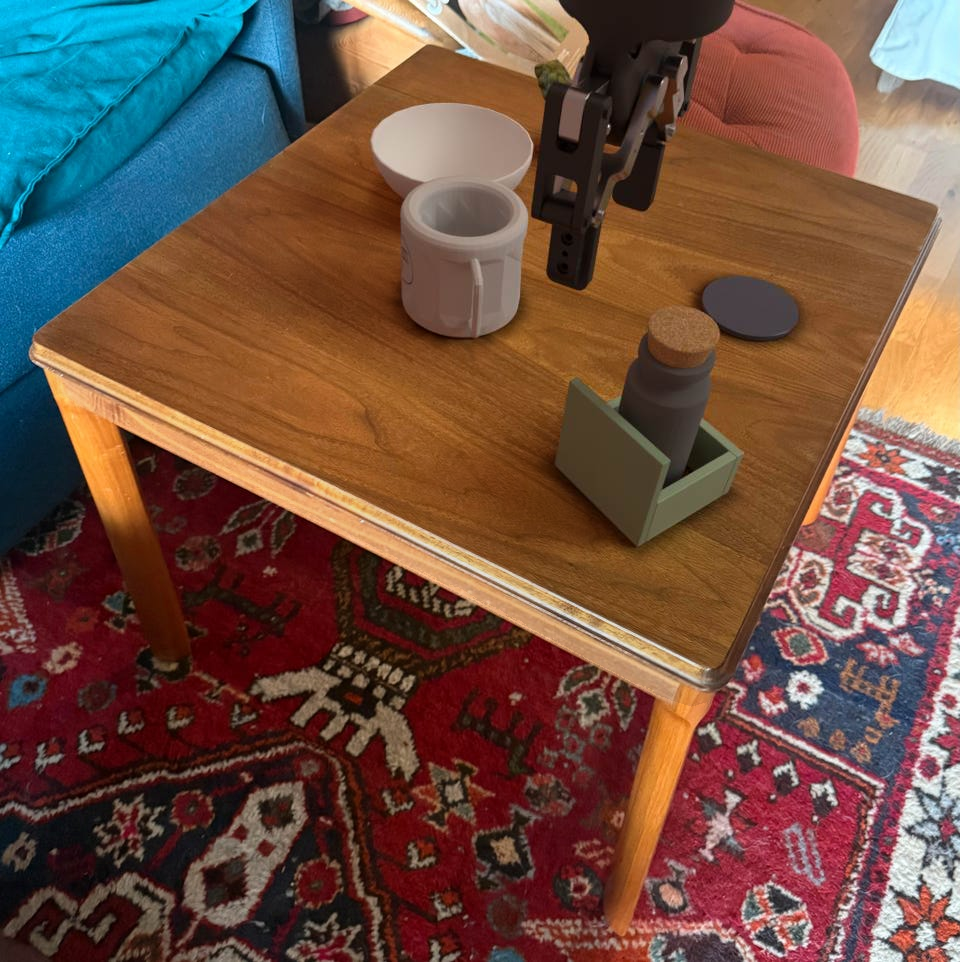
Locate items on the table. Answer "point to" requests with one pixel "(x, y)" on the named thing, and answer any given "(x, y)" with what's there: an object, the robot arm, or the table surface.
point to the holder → (637, 466)
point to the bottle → (671, 382)
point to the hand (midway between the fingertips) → (601, 241)
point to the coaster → (750, 308)
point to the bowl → (449, 146)
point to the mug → (462, 255)
